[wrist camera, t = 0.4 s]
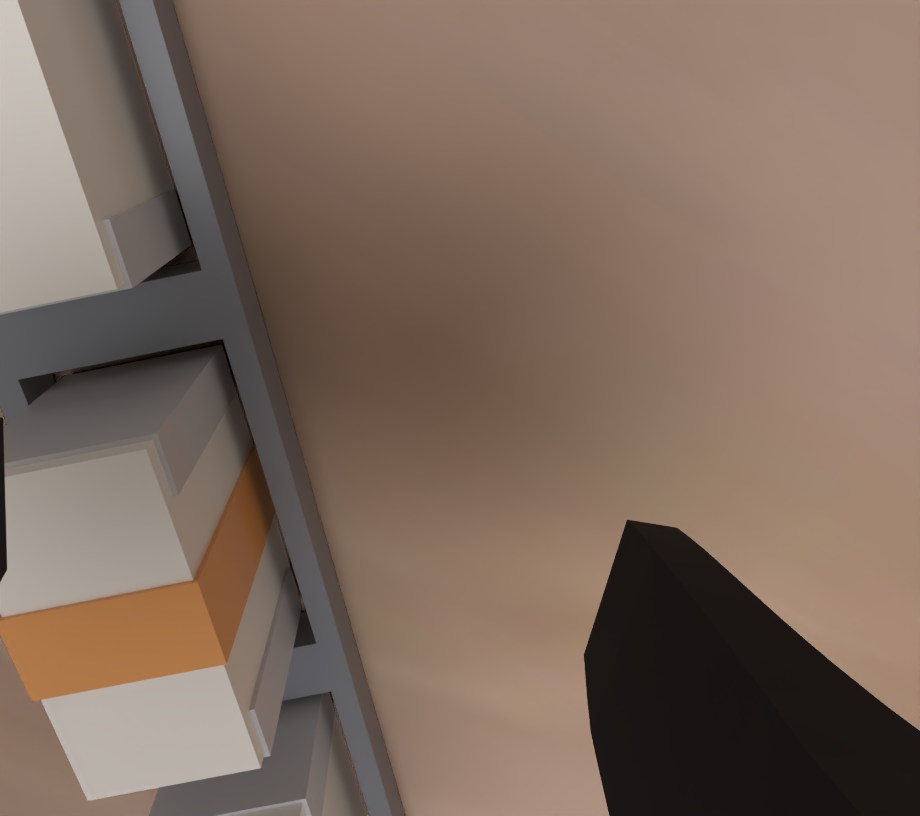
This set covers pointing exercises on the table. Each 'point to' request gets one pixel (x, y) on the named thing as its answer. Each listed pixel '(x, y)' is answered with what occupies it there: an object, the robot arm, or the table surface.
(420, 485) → the table surface
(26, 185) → the block
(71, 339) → the fuse holder
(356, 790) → the block
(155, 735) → the white and orange block
